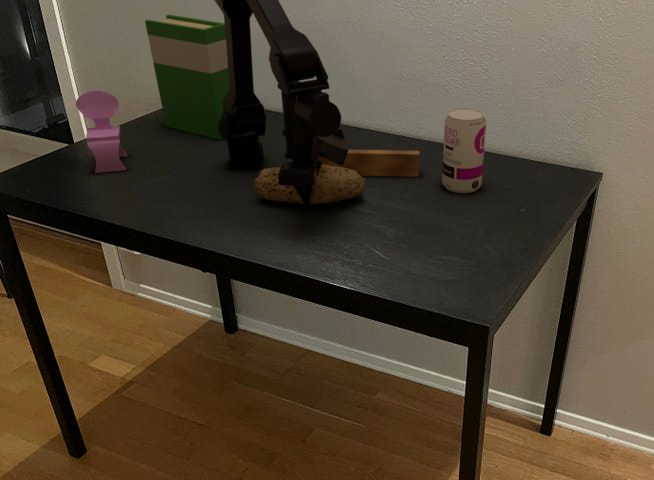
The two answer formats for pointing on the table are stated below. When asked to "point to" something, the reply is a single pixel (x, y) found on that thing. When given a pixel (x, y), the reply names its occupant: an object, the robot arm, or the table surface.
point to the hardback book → (190, 72)
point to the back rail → (380, 162)
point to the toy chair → (102, 130)
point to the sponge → (326, 189)
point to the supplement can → (463, 150)
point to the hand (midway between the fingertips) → (307, 203)
